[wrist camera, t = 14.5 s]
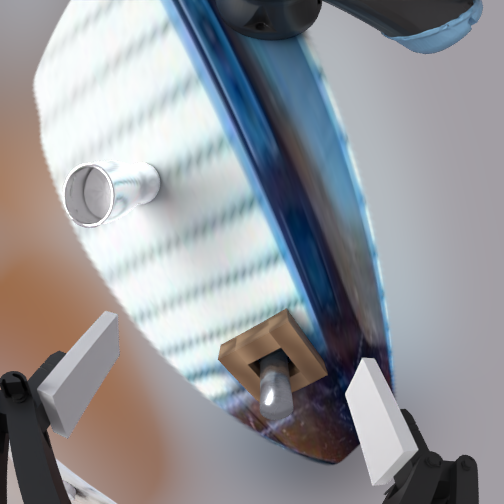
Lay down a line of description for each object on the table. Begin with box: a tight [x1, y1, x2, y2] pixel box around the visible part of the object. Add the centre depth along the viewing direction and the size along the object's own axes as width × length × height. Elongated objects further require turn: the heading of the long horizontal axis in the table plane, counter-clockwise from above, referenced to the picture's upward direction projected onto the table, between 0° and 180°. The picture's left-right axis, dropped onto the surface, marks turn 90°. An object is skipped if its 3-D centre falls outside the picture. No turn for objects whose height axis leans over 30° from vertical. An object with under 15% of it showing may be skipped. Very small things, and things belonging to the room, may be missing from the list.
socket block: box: [218, 309, 328, 403], centre depth 46 cm, size 12×12×4 cm
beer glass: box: [63, 160, 160, 228], centre depth 33 cm, size 7×7×15 cm
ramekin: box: [62, 480, 76, 500], centre depth 72 cm, size 11×11×5 cm
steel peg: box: [260, 348, 293, 420], centre depth 42 cm, size 4×4×13 cm
